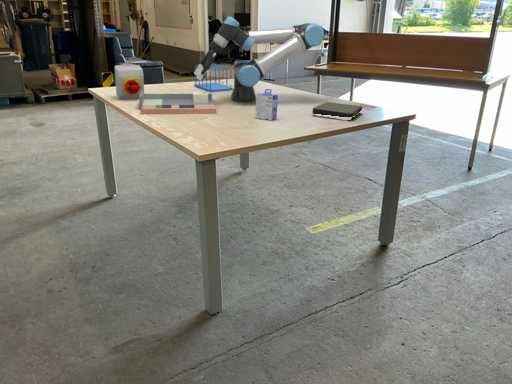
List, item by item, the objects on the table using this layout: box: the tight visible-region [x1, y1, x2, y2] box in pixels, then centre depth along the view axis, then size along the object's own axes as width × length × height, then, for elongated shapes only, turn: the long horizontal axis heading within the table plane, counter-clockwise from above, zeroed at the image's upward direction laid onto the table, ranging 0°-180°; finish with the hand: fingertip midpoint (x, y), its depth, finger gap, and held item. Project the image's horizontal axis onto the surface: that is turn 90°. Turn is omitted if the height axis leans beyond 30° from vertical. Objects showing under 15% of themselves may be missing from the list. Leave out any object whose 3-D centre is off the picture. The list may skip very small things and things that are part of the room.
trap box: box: [138, 90, 217, 115], centre depth 233 cm, size 40×28×7 cm
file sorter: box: [193, 63, 234, 93], centre depth 296 cm, size 25×17×15 cm
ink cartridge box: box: [255, 88, 279, 121], centre depth 215 cm, size 10×6×14 cm, turn 58°
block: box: [192, 91, 209, 103], centre depth 241 cm, size 8×8×4 cm
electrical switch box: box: [114, 63, 145, 101], centre depth 252 cm, size 15×15×20 cm
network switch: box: [312, 101, 363, 117], centre depth 229 cm, size 23×23×5 cm
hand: (196, 77), depth 240 cm, fingers open, 13 cm apart
